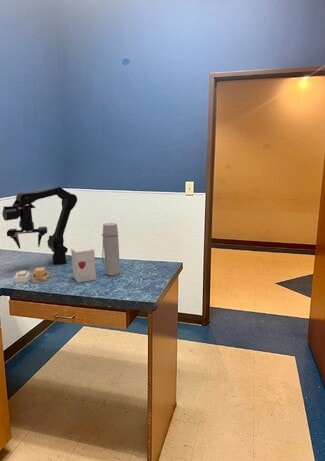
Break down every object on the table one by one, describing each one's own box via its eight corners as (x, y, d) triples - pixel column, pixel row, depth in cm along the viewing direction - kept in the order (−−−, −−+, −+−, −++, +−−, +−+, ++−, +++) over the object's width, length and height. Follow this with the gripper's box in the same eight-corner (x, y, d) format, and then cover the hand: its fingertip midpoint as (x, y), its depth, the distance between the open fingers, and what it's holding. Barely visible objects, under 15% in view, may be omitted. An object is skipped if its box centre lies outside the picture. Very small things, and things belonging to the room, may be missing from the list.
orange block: (45, 276, 163) (44, 267, 162) (44, 280, 158) (43, 270, 157) (36, 277, 162) (35, 268, 161) (35, 281, 157) (34, 271, 156)
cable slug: (27, 277, 163) (26, 270, 162) (25, 280, 158) (25, 273, 157) (20, 277, 162) (19, 271, 161) (19, 281, 158) (18, 274, 157)
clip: (30, 275, 164) (29, 271, 164) (28, 281, 157) (27, 276, 156) (17, 277, 163) (16, 272, 162) (14, 282, 155) (14, 277, 155)
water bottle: (123, 272, 167) (120, 223, 161) (114, 277, 160) (111, 226, 154) (108, 269, 170) (105, 222, 165) (99, 274, 163) (95, 225, 158)
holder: (49, 275, 165) (49, 271, 164) (48, 280, 157) (47, 276, 157) (33, 276, 163) (32, 273, 162) (31, 282, 155) (30, 278, 155)
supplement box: (77, 283, 153) (74, 252, 150) (73, 277, 161) (70, 247, 158) (96, 279, 157) (94, 249, 154) (91, 274, 165) (89, 244, 162)
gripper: (46, 214, 177) (49, 242, 181) (8, 216, 173) (12, 245, 176) (45, 217, 167) (48, 247, 170) (4, 220, 162) (8, 251, 165)
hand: (29, 247), depth 171 cm, fingers open, 9 cm apart
